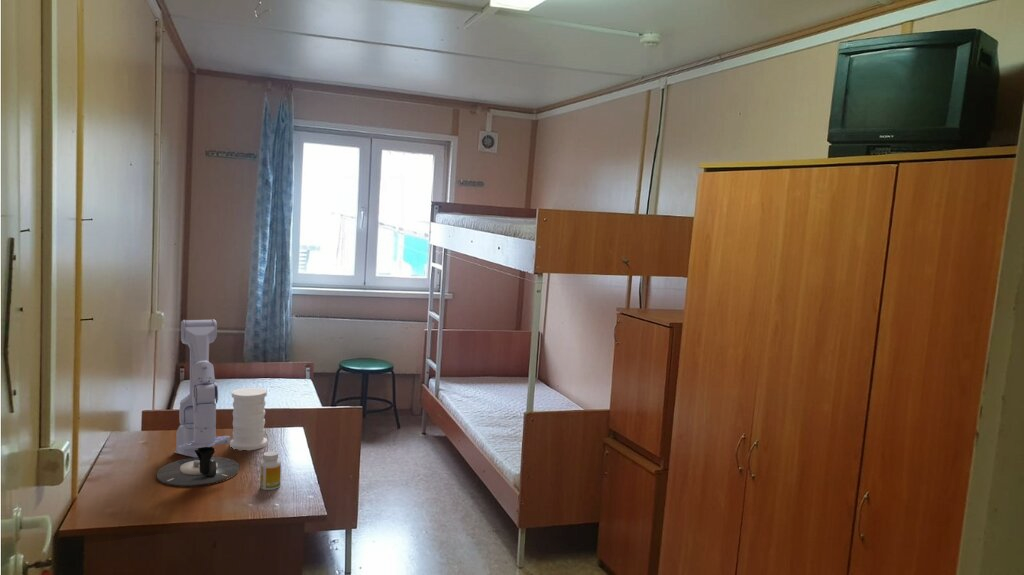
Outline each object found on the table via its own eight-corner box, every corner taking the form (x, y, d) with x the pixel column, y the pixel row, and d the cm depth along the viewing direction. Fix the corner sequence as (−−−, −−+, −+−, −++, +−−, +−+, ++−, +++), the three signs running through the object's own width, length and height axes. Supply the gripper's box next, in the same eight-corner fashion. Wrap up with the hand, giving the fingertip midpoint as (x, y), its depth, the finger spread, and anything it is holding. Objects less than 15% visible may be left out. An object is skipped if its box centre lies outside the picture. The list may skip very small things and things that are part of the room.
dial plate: (139, 477, 200) (139, 473, 200) (201, 455, 220) (201, 451, 220) (196, 492, 192) (196, 488, 192) (255, 467, 212) (255, 464, 212)
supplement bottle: (284, 485, 200) (285, 452, 199) (272, 491, 195) (272, 457, 194) (268, 482, 202) (269, 449, 201) (256, 488, 197) (256, 454, 196)
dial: (174, 468, 205) (174, 453, 205) (207, 460, 213) (207, 445, 213) (196, 481, 197) (196, 465, 196) (230, 472, 204) (230, 457, 204)
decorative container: (251, 452, 225) (252, 397, 223) (222, 447, 229) (222, 393, 227) (274, 442, 236) (275, 389, 234) (246, 437, 240) (246, 385, 238)
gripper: (186, 434, 190) (186, 482, 191) (236, 424, 201) (235, 470, 203) (173, 428, 195) (173, 476, 196) (223, 419, 206) (223, 464, 207)
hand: (204, 472), depth 200 cm, fingers closed, pressing on dial
